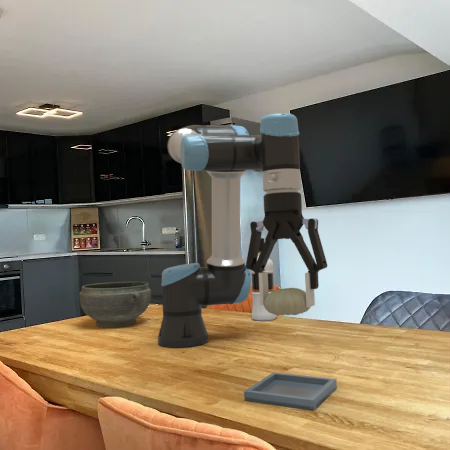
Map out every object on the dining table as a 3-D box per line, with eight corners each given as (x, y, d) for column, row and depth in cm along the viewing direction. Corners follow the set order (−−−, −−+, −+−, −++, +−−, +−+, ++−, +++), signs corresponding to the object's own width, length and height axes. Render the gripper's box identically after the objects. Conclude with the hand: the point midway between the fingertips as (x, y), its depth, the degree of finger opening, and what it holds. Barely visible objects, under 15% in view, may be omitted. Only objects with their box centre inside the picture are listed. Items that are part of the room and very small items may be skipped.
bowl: (170, 323, 185) (168, 282, 186) (106, 335, 168) (105, 290, 168) (124, 315, 209) (123, 279, 209) (64, 324, 192) (63, 285, 192)
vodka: (263, 322, 180) (259, 238, 181) (246, 319, 187) (243, 238, 188) (282, 318, 186) (278, 237, 186) (265, 316, 193) (262, 237, 194)
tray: (244, 400, 98) (244, 391, 98) (273, 380, 110) (273, 372, 110) (313, 410, 91) (313, 400, 91) (336, 387, 103) (336, 379, 103)
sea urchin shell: (256, 301, 105) (282, 272, 105) (284, 327, 105) (309, 298, 106) (263, 307, 95) (291, 276, 96) (294, 335, 96) (321, 304, 97)
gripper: (225, 195, 103) (229, 306, 103) (329, 186, 92) (335, 310, 92) (242, 197, 110) (246, 301, 109) (341, 189, 99) (346, 304, 98)
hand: (287, 305), depth 101 cm, fingers closed on sea urchin shell, 9 cm apart
